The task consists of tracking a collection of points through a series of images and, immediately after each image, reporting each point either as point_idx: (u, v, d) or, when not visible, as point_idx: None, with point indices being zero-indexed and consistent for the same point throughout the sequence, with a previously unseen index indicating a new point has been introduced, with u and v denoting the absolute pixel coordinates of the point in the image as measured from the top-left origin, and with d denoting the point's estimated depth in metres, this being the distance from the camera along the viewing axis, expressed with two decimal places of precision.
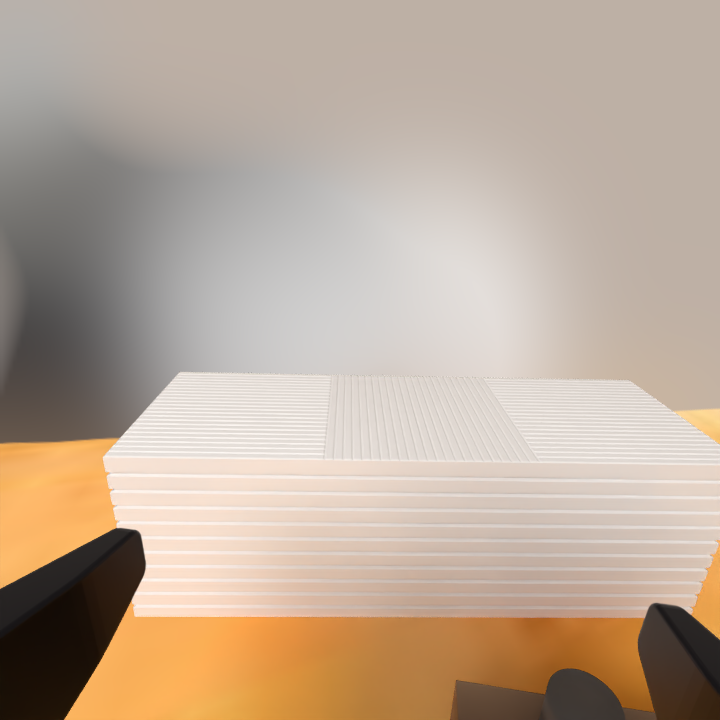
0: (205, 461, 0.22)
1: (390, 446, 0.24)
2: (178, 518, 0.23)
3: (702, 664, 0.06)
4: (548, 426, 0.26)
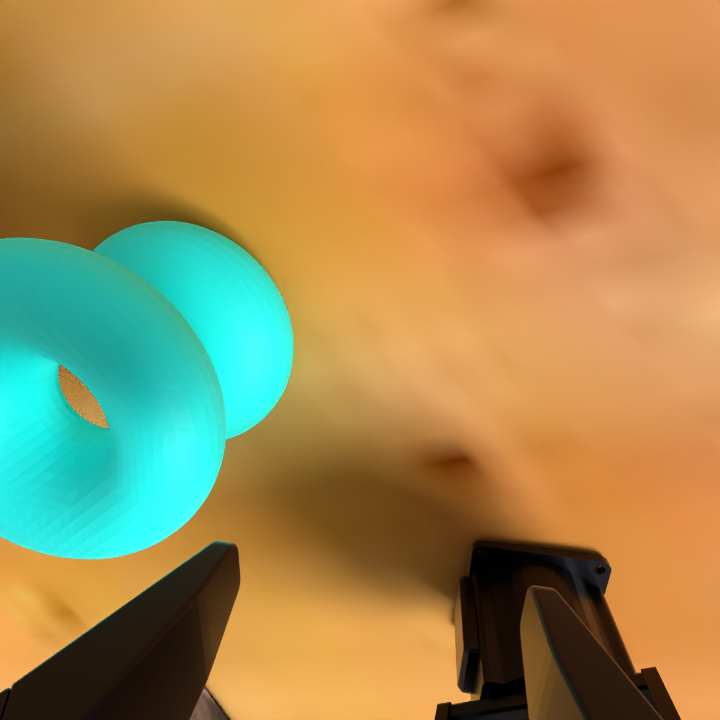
0: None
1: None
2: None
3: (553, 641, 0.06)
4: None
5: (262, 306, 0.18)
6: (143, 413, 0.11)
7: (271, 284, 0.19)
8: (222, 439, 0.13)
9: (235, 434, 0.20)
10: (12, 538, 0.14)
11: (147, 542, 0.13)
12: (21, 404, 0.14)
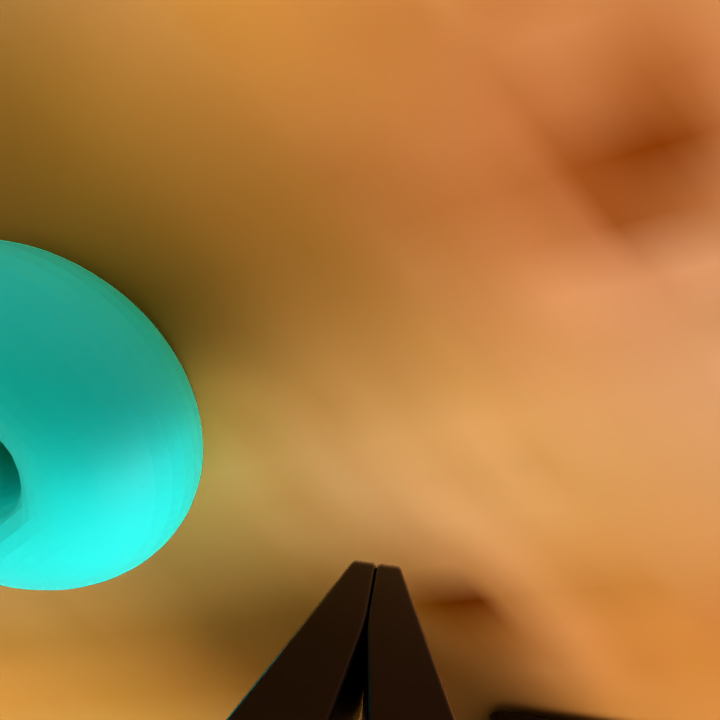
0: None
1: None
2: None
3: (373, 613, 0.07)
4: None
5: (130, 388, 0.10)
6: None
7: (152, 345, 0.11)
8: None
9: (112, 578, 0.13)
10: None
11: None
12: None
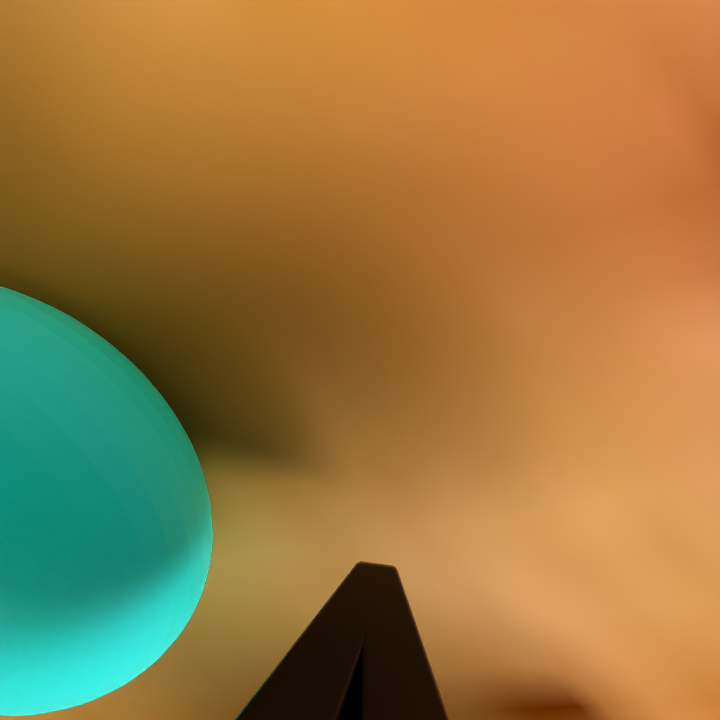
0: None
1: None
2: None
3: (368, 613, 0.07)
4: None
5: (115, 475, 0.08)
6: None
7: (145, 412, 0.08)
8: None
9: None
10: None
11: None
12: None
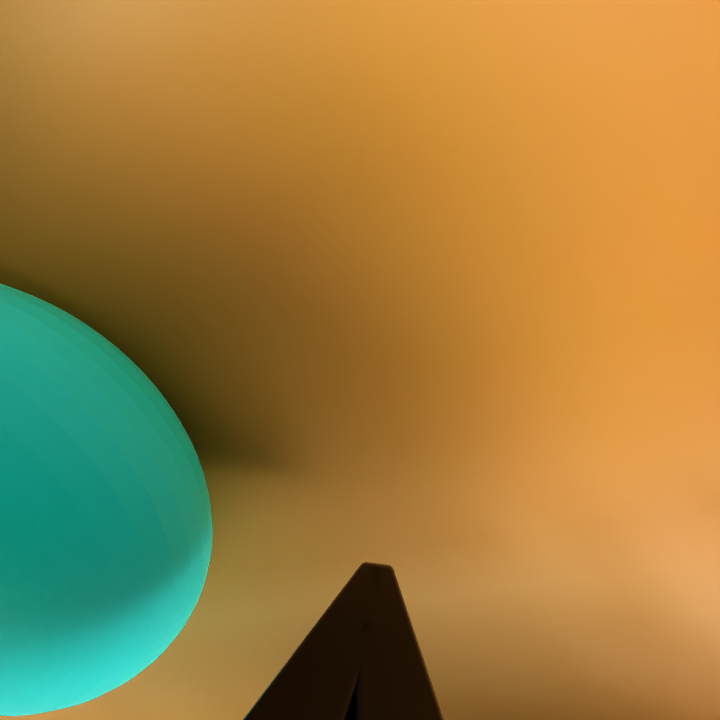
0: None
1: None
2: None
3: (363, 612, 0.07)
4: None
5: (116, 475, 0.08)
6: None
7: (147, 411, 0.08)
8: None
9: None
10: None
11: None
12: None
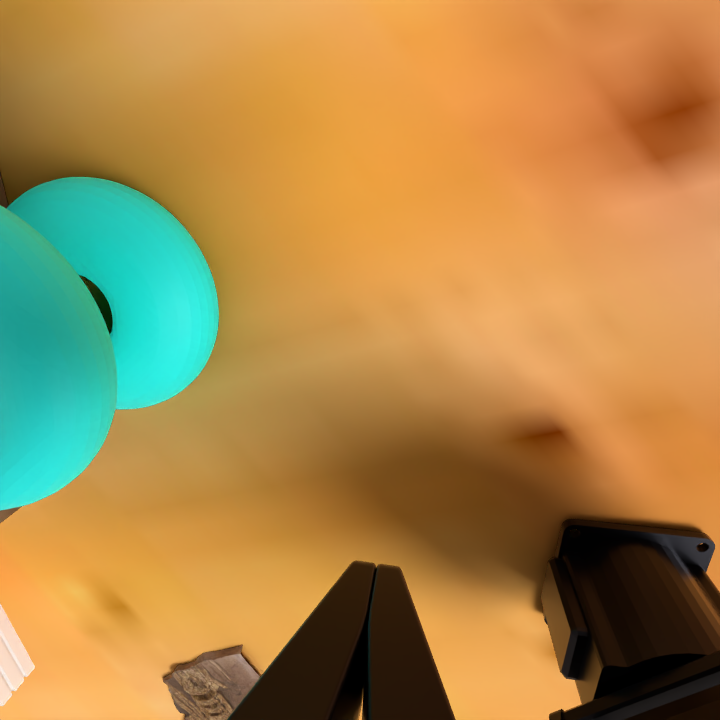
0: None
1: None
2: None
3: (373, 613, 0.07)
4: None
5: (177, 261, 0.18)
6: (6, 348, 0.11)
7: (189, 240, 0.18)
8: (107, 382, 0.13)
9: (162, 397, 0.20)
10: None
11: (35, 490, 0.13)
12: None
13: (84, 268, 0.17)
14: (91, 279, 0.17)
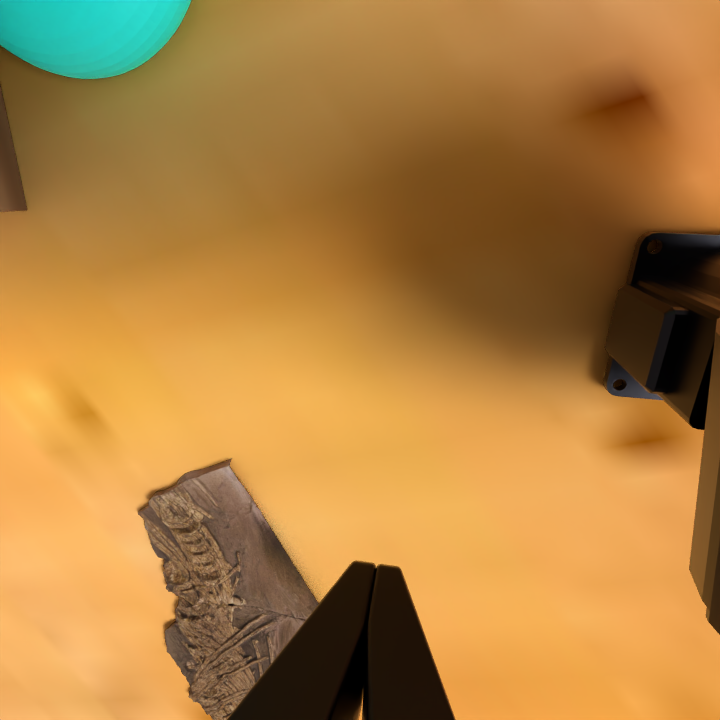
0: None
1: None
2: None
3: (373, 613, 0.07)
4: None
5: None
6: None
7: None
8: None
9: (128, 36, 0.15)
10: None
11: None
12: None
13: None
14: None
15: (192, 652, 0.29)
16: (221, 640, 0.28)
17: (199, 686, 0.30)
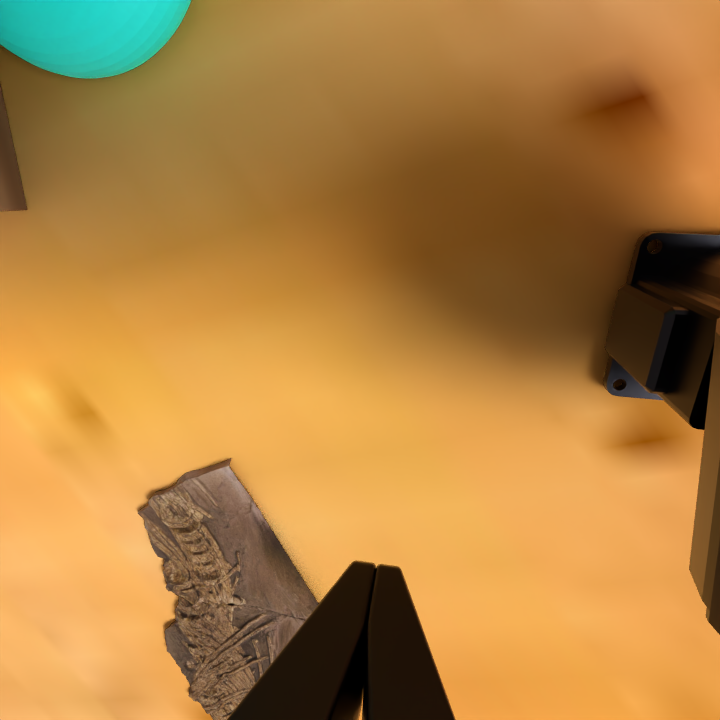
0: None
1: None
2: None
3: (373, 613, 0.07)
4: None
5: None
6: None
7: None
8: None
9: (129, 35, 0.15)
10: None
11: None
12: None
13: None
14: None
15: (192, 651, 0.29)
16: (220, 639, 0.28)
17: (199, 685, 0.30)
